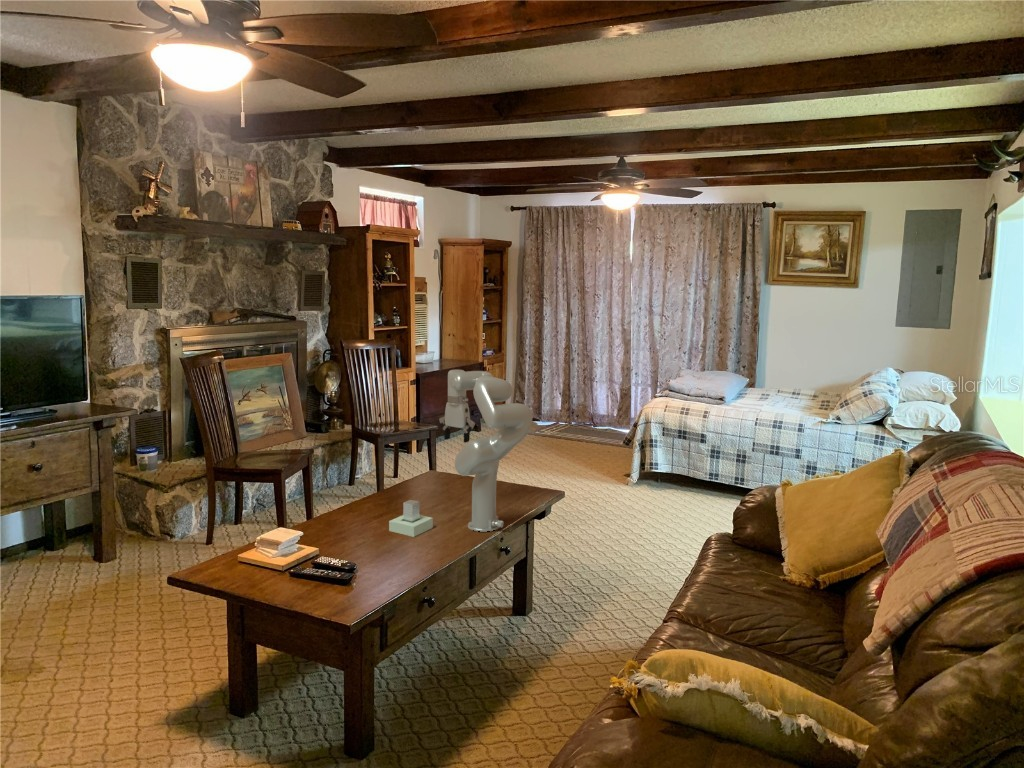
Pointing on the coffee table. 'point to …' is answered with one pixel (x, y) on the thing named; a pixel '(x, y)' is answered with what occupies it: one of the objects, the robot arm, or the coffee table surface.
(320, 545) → the coffee table surface
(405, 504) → the steel bar
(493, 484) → the robot arm
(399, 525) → the well block
